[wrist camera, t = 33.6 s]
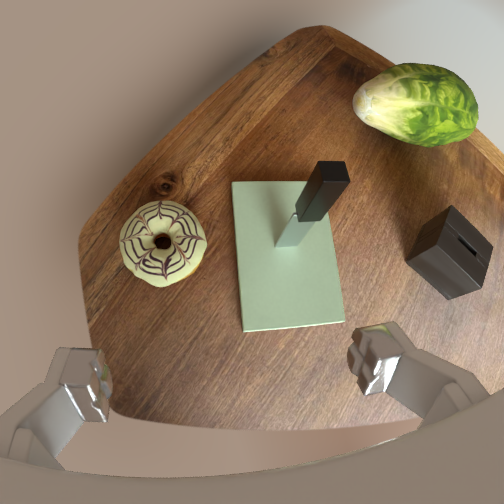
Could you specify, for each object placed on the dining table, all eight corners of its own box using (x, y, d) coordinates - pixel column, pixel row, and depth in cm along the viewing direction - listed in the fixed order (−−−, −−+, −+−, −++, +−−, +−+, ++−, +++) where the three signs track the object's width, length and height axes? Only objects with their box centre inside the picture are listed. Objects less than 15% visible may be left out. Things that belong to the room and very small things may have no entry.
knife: (298, 252, 42) (354, 181, 25) (275, 254, 41) (319, 181, 24) (296, 237, 42) (348, 161, 25) (273, 239, 42) (314, 160, 25)
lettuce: (325, 101, 53) (353, 36, 38) (427, 103, 58) (461, 58, 43) (359, 168, 49) (403, 105, 34) (460, 159, 54) (504, 116, 39)
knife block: (448, 300, 44) (481, 288, 36) (405, 262, 45) (436, 244, 37) (462, 262, 46) (493, 246, 39) (422, 225, 47) (451, 204, 40)
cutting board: (341, 322, 41) (345, 321, 39) (242, 332, 39) (243, 331, 38) (319, 185, 47) (321, 181, 46) (231, 185, 45) (231, 181, 44)
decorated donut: (167, 305, 39) (162, 300, 35) (109, 251, 40) (101, 241, 36) (221, 244, 42) (222, 234, 38) (162, 196, 43) (159, 182, 39)
